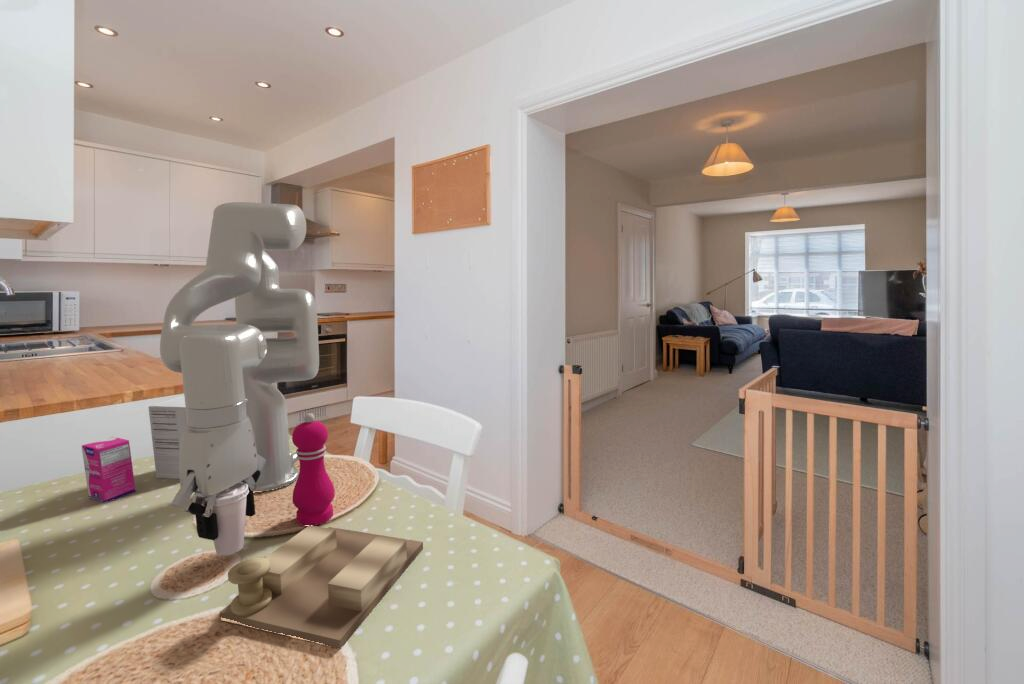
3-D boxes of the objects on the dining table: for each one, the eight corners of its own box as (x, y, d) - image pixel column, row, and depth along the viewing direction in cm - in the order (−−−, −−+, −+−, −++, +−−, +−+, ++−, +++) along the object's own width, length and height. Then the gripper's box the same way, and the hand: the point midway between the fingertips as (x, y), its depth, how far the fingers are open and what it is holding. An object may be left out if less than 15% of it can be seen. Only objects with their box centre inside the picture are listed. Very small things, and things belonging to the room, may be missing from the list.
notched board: (329, 533, 82) (327, 499, 81) (423, 548, 77) (422, 513, 76) (220, 620, 61) (216, 576, 60) (340, 649, 56) (337, 601, 55)
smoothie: (219, 565, 69) (210, 476, 67) (197, 551, 72) (188, 466, 70) (261, 544, 74) (254, 460, 72) (239, 532, 78) (232, 452, 75)
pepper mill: (344, 513, 89) (339, 410, 86) (313, 531, 82) (307, 421, 80) (316, 505, 92) (310, 406, 89) (285, 522, 85) (277, 416, 83)
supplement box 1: (87, 498, 95) (80, 444, 94) (120, 487, 101) (114, 435, 99) (103, 503, 93) (97, 448, 91) (137, 491, 98) (131, 439, 97)
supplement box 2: (187, 462, 114) (181, 395, 112) (223, 463, 113) (217, 395, 111) (154, 478, 105) (146, 405, 103) (192, 480, 104) (185, 406, 102)
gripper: (244, 397, 79) (252, 496, 82) (138, 430, 63) (154, 554, 65) (280, 400, 77) (288, 502, 80) (182, 436, 61) (196, 563, 63)
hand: (227, 524), depth 73 cm, fingers closed on smoothie, 6 cm apart
